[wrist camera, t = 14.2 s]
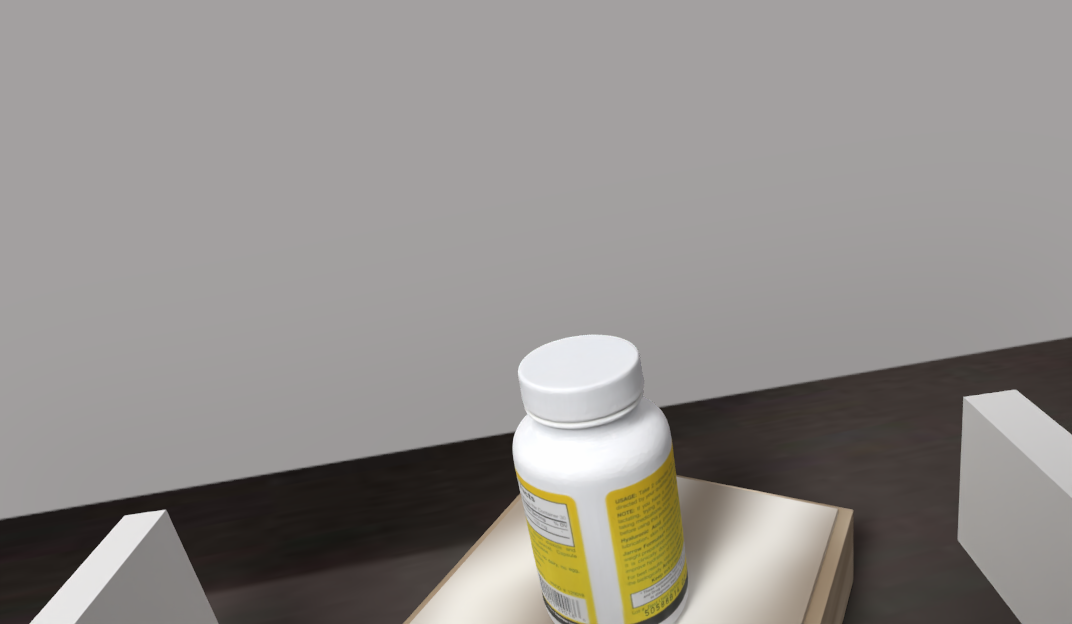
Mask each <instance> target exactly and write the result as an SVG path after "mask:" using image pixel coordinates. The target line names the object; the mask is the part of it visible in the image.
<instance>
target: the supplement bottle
mask: <svg viewBox="0 0 1072 624" xmlns="http://www.w3.org/2000/svg"><path fill="white" fill-rule="evenodd" d="M518 377H519V383H520V389H521V394H522V401H523V403H524V408H525V410H526V412H527V415H526V416H525V417H524V418H523V420H522V421H521V423H520V424H519V426H518V428H517V430H516V432H515V435H514V439H513V458H514V465H515V470H516V474H517V479H518V483H519V488H520V492H521V497H522V502H523V506H524V512H525V516H526V521H527V526H528V530H529V535H530V540H531V545H532V550H533V554H534V559H535V563H536V568H537V573H538V577H539V582H540V586H541V590H542V595H543V600H544V603H545V606H546V609H547V611H548V614H549V616H550V617H551V619H552V621H553V622H554V623H555V624H673V623H674V622H675V621H676V620H677V619H678V617H679V616H680V614H681V613H682V611H683V609H684V606H685V604H686V601H687V597H688V571H687V563H686V554H685V545H684V536H683V526H682V518H681V511H680V502H679V494H678V486H677V478H676V470H675V462H674V455H673V446H672V439H671V434H670V429H669V425H668V422H667V420H666V417H665V415H664V414H663V412H662V411H661V410H660V408H659V407H658V406H657V405H656V404H654V403H653V402H652V401H650V400H649V399H648V398H646V397H644V396H643V393H644V390H643V388H644V378H643V375H642V367H641V361H640V355H639V352H638V350H637V348H636V347H635V346H634V345H633V344H632V343H631V342H629V341H627V340H624V339H622V338H619V337H615V336H607V335H582V336H573V337H568V338H564V339H560V340H556V341H553V342H550V343H548V344H545V345H543V346H541V347H539V348H537V349H535V350H533V351H532V352H531V353H529V354H528V355H527V356H526V357H525V358H524V359H523V360H522V362H521V364H520V366H519V368H518Z"/></svg>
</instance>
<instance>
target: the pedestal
mask: <svg viewBox="0 0 1072 624" xmlns="http://www.w3.org/2000/svg"><path fill="white" fill-rule="evenodd" d="M676 478H677V486H678V494H679V502H680V511H681V518H682V526H683V536H684V545H685V554H686V563H687V571H688V597H687V601H686V604H685V606H684V609H683V611H682V613H681V614H680V616H679V617H678V619H677V620H676V621H675V622H674V623H673V624H842V622H843V619H844V615H845V611H846V607H847V603H848V599H849V595H850V591H851V587H852V584H853V510H851V509H846V508H841V507H836V506H831V505H826V504H820V503H815V502H810V501H805V500H800V499H795V498H790V497H785V496H780V495H775V494H770V493H765V492H760V491H755V490H750V489H744V488H739V487H734V486H729V485H724V484H719V483H714V482H709V481H704V480H699V479H694V478H689V477H684V476H679V475H676ZM403 624H555V623H554V622H553V621H552V619H551V617H550V616H549V614H548V611H547V609H546V606H545V603H544V600H543V595H542V590H541V586H540V582H539V577H538V573H537V568H536V563H535V559H534V554H533V550H532V545H531V540H530V535H529V530H528V526H527V521H526V516H525V512H524V506H523V502H522V497H521V493H520V494H519V496H518V497H517V498H516V499H515V500H514V501H513V502H512V503H511V504H510V506H509V507H508V508H507V509H506V510H505V511H504V512H503V513H502V514H501V516H500V517H499V518H498V519H497V520H496V521H495V522H494V523H493V524H492V526H491V527H490V528H489V529H488V530H487V531H486V532H485V533H484V534H483V535H482V537H481V538H480V539H479V540H478V541H477V542H476V543H475V544H474V545H473V547H472V548H471V549H470V550H469V551H468V552H467V553H466V554H465V555H464V557H463V558H462V559H461V560H460V561H459V562H458V563H457V564H456V565H455V567H454V568H453V569H452V570H451V571H450V572H449V573H448V574H447V575H446V577H445V578H444V579H443V580H442V581H441V582H440V583H439V584H438V585H437V587H436V588H435V589H434V590H433V591H432V592H431V593H430V594H429V595H428V597H427V598H426V599H425V600H424V601H423V602H422V603H421V604H420V605H419V607H418V608H417V609H416V610H415V611H414V612H413V613H412V614H411V615H410V617H409V618H408V619H407V620H406V621H405V622H404V623H403Z"/></svg>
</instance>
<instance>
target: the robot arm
mask: <svg viewBox="0 0 1072 624" xmlns="http://www.w3.org/2000/svg"><path fill="white" fill-rule="evenodd" d="M958 541H959V542H960V544H961V545H962V546H963V548H964V549H965V550H966V551H967V553H968V554H969V555H970V557H971V558H972V559H973V561H974V562H975V563H976V565H977V566H978V567H979V568H980V570H981V571H982V572H983V574H984V575H985V576H986V578H987V579H988V580H989V582H990V583H991V584H992V585H993V587H994V588H995V589H996V591H997V592H998V593H999V595H1000V596H1001V597H1002V598H1003V600H1004V601H1005V602H1006V604H1007V605H1008V606H1009V608H1010V609H1011V610H1012V612H1013V613H1014V614H1015V615H1016V617H1017V618H1018V619H1019V621H1020V622H1021V623H1022V624H1072V435H1071V434H1070V433H1069V432H1068V431H1066V430H1065V429H1064V428H1063V427H1061V426H1060V425H1059V424H1058V423H1056V422H1055V421H1054V420H1053V419H1051V418H1050V417H1049V416H1048V415H1047V414H1045V413H1044V412H1043V411H1042V410H1040V409H1039V408H1038V407H1037V406H1035V405H1034V404H1033V403H1032V402H1030V401H1029V400H1028V399H1027V398H1026V397H1024V396H1023V395H1022V394H1021V393H1019V392H1018V391H1017V390H1010V391H1003V392H995V393H988V394H981V395H974V396H967V397H963V421H962V446H961V470H960V494H959V519H958ZM30 624H218V622H217V619H216V617H215V615H214V613H213V611H212V609H211V606H210V604H209V602H208V600H207V598H206V596H205V593H204V591H203V589H202V587H201V585H200V583H199V580H198V578H197V576H196V574H195V572H194V570H193V567H192V565H191V563H190V561H189V559H188V556H187V554H186V552H185V550H184V548H183V546H182V543H181V541H180V539H179V537H178V535H177V533H176V530H175V528H174V526H173V524H172V522H171V520H170V517H169V515H168V513H167V511H166V510H161V511H154V512H147V513H140V514H133V515H126V516H124V517H123V518H122V519H121V520H120V521H119V523H118V524H117V525H116V526H115V527H114V528H113V529H112V531H111V532H110V533H109V534H108V535H107V536H106V537H105V539H104V540H103V541H102V542H101V543H100V544H99V545H98V547H97V548H96V549H95V550H94V551H93V552H92V553H91V555H90V556H89V557H88V558H87V559H86V560H85V561H84V563H83V564H82V565H81V566H80V567H79V568H78V569H77V570H76V572H75V573H74V574H73V575H72V576H71V577H70V578H69V580H68V581H67V582H66V583H65V584H64V585H63V586H62V588H61V589H60V590H59V591H58V592H57V593H56V594H55V596H54V597H53V598H52V599H51V600H50V601H49V602H48V604H47V605H46V606H45V607H44V608H43V609H42V610H41V612H40V613H39V614H38V615H37V616H36V617H35V618H34V619H33V621H32V622H31V623H30Z"/></svg>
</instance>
